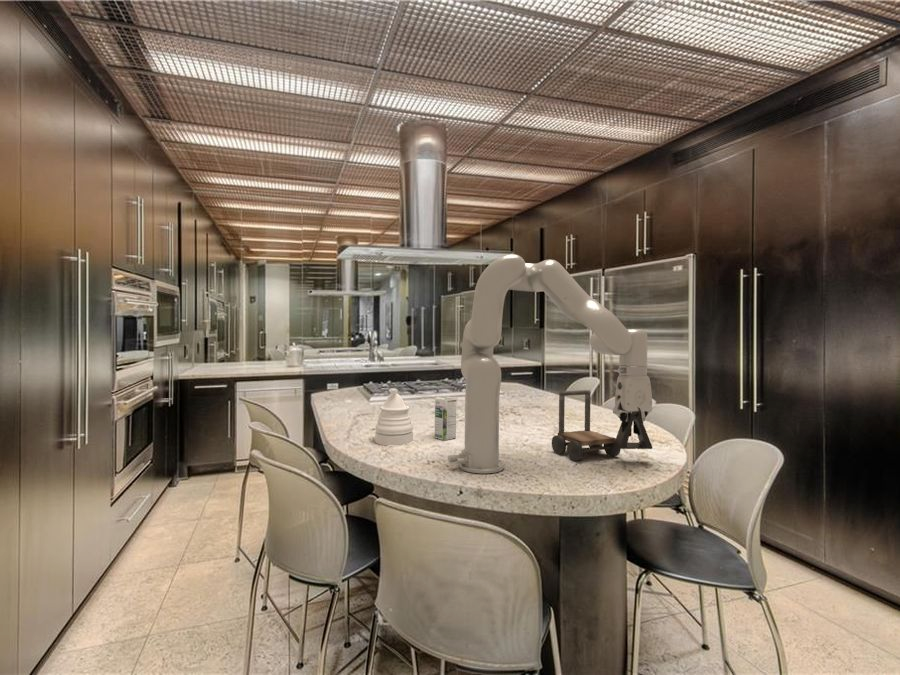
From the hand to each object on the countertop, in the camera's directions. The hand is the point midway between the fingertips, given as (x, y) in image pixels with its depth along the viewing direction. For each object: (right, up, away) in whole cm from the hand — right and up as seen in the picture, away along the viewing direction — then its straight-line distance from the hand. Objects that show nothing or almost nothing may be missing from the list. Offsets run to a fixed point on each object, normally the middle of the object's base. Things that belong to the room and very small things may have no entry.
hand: (632, 434), depth 134 cm
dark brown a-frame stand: (0, -4, 0) cm, 4 cm away
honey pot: (-72, -8, +25) cm, 77 cm away
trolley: (-11, -8, +9) cm, 16 cm away
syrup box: (-55, -8, +29) cm, 63 cm away
